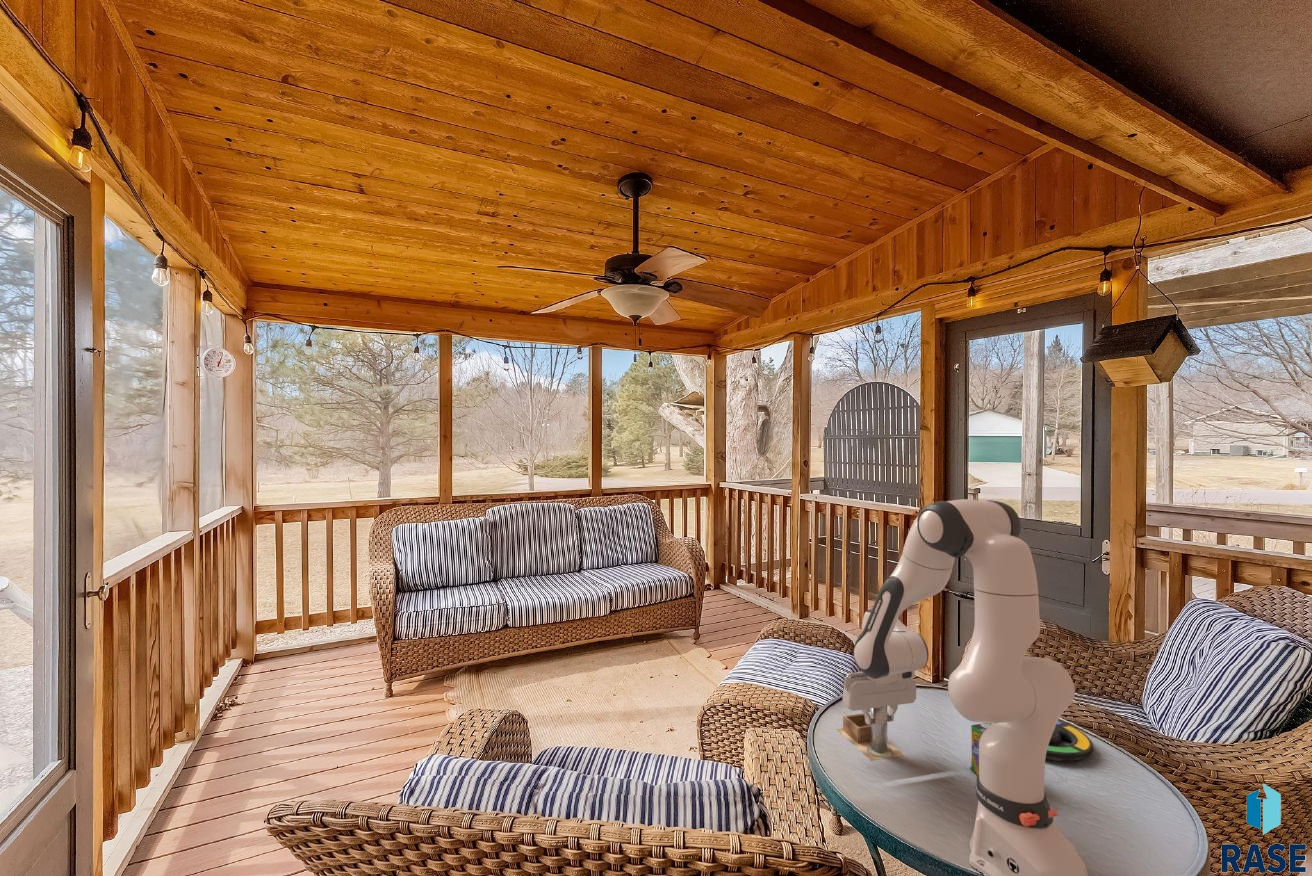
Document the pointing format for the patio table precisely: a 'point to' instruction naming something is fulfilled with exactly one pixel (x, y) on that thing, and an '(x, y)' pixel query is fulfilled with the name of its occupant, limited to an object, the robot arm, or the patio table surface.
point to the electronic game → (1071, 752)
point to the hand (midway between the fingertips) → (879, 721)
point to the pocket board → (864, 737)
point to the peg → (879, 730)
